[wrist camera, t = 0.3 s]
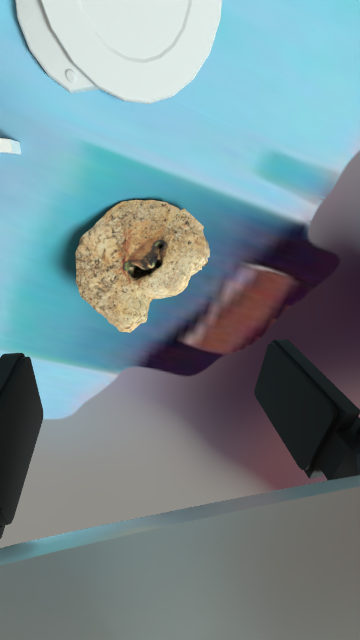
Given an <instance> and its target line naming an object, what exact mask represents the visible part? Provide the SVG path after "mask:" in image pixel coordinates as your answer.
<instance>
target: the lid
mask: <svg viewBox="0 0 360 640" xmlns="http://www.w3.org/2000/svg"><path fill="white" fill-rule="evenodd" d="M15 2H16V11H17V18H18V21H19V24H20V26H21V29H22V31H23V34H24V37H25V39H26V42H27V44H28V47H29V49H30V51H31V52H32V54H33V55H34V56H35V58H36V59H37V60H38V62H39V63H40V65H41V66H42V67H43V69H44V70H45V71H46V73H47V74H48V76H49V77H50V78H52V79H53V80H54V81H55V82H57V83H58V84H59V85H61V86H62V87H63V88H64V89H66V90H67V91H68V92H70V93H77V92H84V91H91V90H98V89H101V90H103V91H105V92H107V93H109V94H111V95H113V96H115V97H117V98H119V99H121V100H123V101H127V102H136V103H145V104H150V103H154V102H157V101H160V100H163V99H167V98H170V97H173V96H174V95H175V94H176V93H177V92H179V91H180V90H181V89H182V88H184V87H185V86H186V85H187V84H188V83H190V82H191V81H192V80H193V79H194V77H195V76H196V74H197V73H198V71H199V69H200V68H201V66H202V65H203V63H204V62H205V60H206V58H207V57H208V55H209V54H210V51H211V48H212V44H213V41H214V38H215V35H216V31H217V28H218V25H219V22H220V17H221V6H222V0H15Z"/></svg>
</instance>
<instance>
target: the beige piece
mask: <svg viewBox="0 0 360 640" xmlns="http://www.w3.org/2000/svg"><path fill="white" fill-rule="evenodd" d="M203 228H204V227H203V226H202V225H201V224H200V223H199V222H198V221H197V220H196V219H195V218H194V217H193V216H192V215H191V214H190V213H189V212H188V211H186V210H185V209H184V208H183V209H182V210H180V209H179V208H177V207H175V206H173V205H169V203H167V202H161V201H156V200H145V201H143V200H131V201H128V202H127V201H124V202H121V203H120V204H117V205H116V206H114V207H113V208H111V209H110V210H109V211H108V212H107V213H106V214H105V215H104V216H103V217H102V218H101V219H100V220H99V221H98V222H97V223H96V224H95V226H94V227H92V228H91V230H89V231H87V232H86V233H85V234H84V235H83V236H82V237H81V238H80V243H79V245H78V248H77V250H76V253H75V254H76V270H77V272H76V283H77V285H78V290H79V293H80V295H81V297H82V298H83V299H84V300H85V301H87V302H88V303H89V304H90V305H91V306H92V307H93V308H94V309H95V310H96V311H97V312H98V313H100V314H103V316H104V317H105V318H107V320H108V321H109V323H111V324H113V325H114V326H115V327H117V328H118V330H119V331H120V332H131V331H133V330H134V329H135V328H136V327H137V326H139V324H141V323H145V322H146V320H147V314H148V309H149V304H150V302H151V301H152V300H153V299H160V298H164V297H171V296H175V295H177V294H178V293H181V292H182V291H183V290H184V289H185V288H186V287H187V285H188V281H189V279H190V276H192V275H193V274H195V273H196V272H198V271H199V270H202V266H205V265H206V264H207V263H208V260H207V256H208V257H209V255H210V250H209V248H208V246H209V245H208V242H207V240H206V238H205V237H204V234H203Z"/></svg>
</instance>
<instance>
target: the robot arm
mask: <svg viewBox="0 0 360 640" xmlns="http://www.w3.org/2000/svg"><path fill="white" fill-rule="evenodd" d="M255 396H256V398H257V400H258V401H259V403H260V405H261V407H262V408H263V410H264V411H265V413H266V414H267V416H268V418H269V419H270V421H271V423H272V424H273V426H274V427H275V429H276V431H277V432H278V434H279V436H280V437H281V439H282V441H283V442H284V444H285V445H286V447H287V449H288V450H289V452H290V453H291V455H292V457H293V458H294V460H295V461H296V463H297V465H298V466H299V467H300V468H301V469H302V470H304V471H305V473H306V474H307V476H308V477H309V478H316V477H320V476H322V475H323V474H324V475H325V476H326V478H327V481H323V482H318V483H313V484H307V485H303V486H297V487H292V488H287V489H282V490H276V491H271V492H267V493H261V494H256V495H251V496H246V497H241V498H236V499H231V500H226V501H221V502H215V503H210V504H206V505H200V506H195V507H190V508H186V509H181V510H175V511H170V512H166V513H161V514H156V515H151V516H146V517H141V518H136V519H131V520H127V521H121V522H117V523H112V524H107V525H102V526H97V527H92V528H87V529H82V530H78V531H73V532H69V533H64V534H60V535H56V536H51V537H46V538H42V539H37V540H33V541H28V542H24V543H20V544H15V545H11V546H8V547H4V548H0V640H360V418H359V417H358V415H359V414H360V410H359V409H358V408H357V407H356V406H355V405H354V404H353V403H352V402H351V401H350V400H349V399H348V398H347V397H346V396H345V395H344V394H343V393H342V392H341V391H340V390H339V389H338V388H337V387H336V386H335V385H334V384H333V383H332V382H331V381H330V380H329V379H327V378H326V376H325V375H323V373H322V372H320V371H319V370H318V369H317V368H316V367H315V366H314V365H313V364H312V363H311V362H310V361H309V360H308V359H307V358H306V357H305V356H304V355H303V354H302V353H301V352H300V351H299V350H298V349H297V348H296V347H295V346H294V345H293V344H292V343H291V342H290V341H289V340H286V339H282V340H273V341H272V342H271V344H269V345H268V347H267V351H266V354H265V357H264V361H263V364H262V367H261V370H260V374H259V377H258V380H257V384H256V387H255ZM42 420H43V408H42V404H41V400H40V396H39V392H38V388H37V384H36V379H35V375H34V371H33V367H32V363H31V359H30V357H25V356H24V354H23V353H12V354H3V355H2V356H1V358H0V539H1V537H2V534H3V531H4V528H5V525H8V524H10V523H11V522H12V520H13V518H14V515H15V511H16V508H17V505H18V501H19V498H20V495H21V491H22V488H23V485H24V481H25V478H26V474H27V471H28V468H29V464H30V461H31V457H32V454H33V451H34V447H35V444H36V441H37V437H38V434H39V430H40V427H41V424H42Z"/></svg>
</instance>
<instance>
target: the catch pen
mask: <svg viewBox="0 0 360 640" xmlns="http://www.w3.org/2000/svg"><path fill="white" fill-rule="evenodd" d="M0 153H10V154H20V155H22V154H21V149H20V143H19V142H18V141H14V140H11V139H3V138H0Z"/></svg>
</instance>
